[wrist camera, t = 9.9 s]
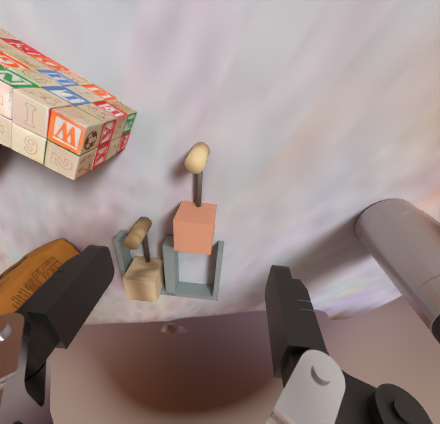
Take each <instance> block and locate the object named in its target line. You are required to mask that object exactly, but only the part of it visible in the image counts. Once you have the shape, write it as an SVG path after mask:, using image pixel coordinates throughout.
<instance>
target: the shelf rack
mask: <svg viewBox="0 0 440 424" xmlns="http://www.w3.org/2000/svg"><path fill="white" fill-rule="evenodd" d="M126 237H127V234H126V231H123V230H121V231H120V232H119V233H118V234H117V236H116V237H115V238H114V240H113V242H114V246H115V250H116V254H117V259H118V263H119V267H120V271H121V275H122V279H123V277H124V275H125V273H126V272H127V270H128V268H129V266H130V265H131V263H132V260H131V254H130V249H129V248H128V247H126V246H125V244H124V240H125V238H126ZM223 247H224V241H219V243H218V252H217V261H216V271H215V281H214V286H213V285H205V284H196V283H187V282H179V273H178V251H174V236H169V235H167V236H166V239H165V241H164V243H163V245H162V248H163V260H164V272H165V281H164V284H163V287H162V290H161V292H160V294H163V295H172V296H181V297H189V298H198V299H207V300H216V301H217V298H218V290H219V282H220V273H221V265H222V257H223Z"/></svg>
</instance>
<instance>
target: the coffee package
mask: <svg viewBox="0 0 440 424" xmlns="http://www.w3.org/2000/svg"><path fill="white" fill-rule="evenodd" d="M77 254H78V255H80V253H79V252H78V251H77V250H76V249H75V248H74V247H73V245H71V244H70V243H68V242H67V241H65V240H64V239H58V240H55V241H52V242H50V243H48V244H45V245H43V246H41V247H39V248H38V249H36V250H34V251H32V252H30V253H28V254H26V255H25V256H24V257H23V258H22V259H21V260H20V261H18V262H17V263H16V264H14V265H13V266H11V267H10V268H9V269H7V270H6V271H5V272H3V273H2V274H1V275H0V316H1V315H4V314H7V313H14V312H15V311H16V310H18V309H19V308H20V307H21V306H22V305H23V304H24V303H25V302H26V301H27V300H28V299H29V298H30V297H31V296H32V295H33V294H34V293H35V292H36V291H37V290H38V289H39V288H40V287H41V286H42V285H43V284H44V283H45V282H46V281H47V280H49V278H50V277H51V276H52V275H53V274H54V273H55V272H56V271H57V270H58V269H59V268H60V267H61V266H62V265H63V264H64V263H65V262H66V261H67V260H69V259H71V258H72V257H74V256H75V255H77Z"/></svg>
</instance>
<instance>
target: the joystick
mask: <svg viewBox="0 0 440 424" xmlns="http://www.w3.org/2000/svg"><path fill="white" fill-rule="evenodd" d="M209 153H210V149H209V147H208V145H207V144H205V143H203V142H198V143H196V144H195V145H194V147H193V148H192V150H191V151H190V153H189V155H188V156H187V158H186V159H185V167H186V169H187V170H188V171H189V172H190V173H193V174H197V177H196V202H188V201H182V202H181V204H180V206H179V208H178V211H177V213H176V215H175V217H174V219H173V234H174V251H182V252H191V253H199V254H208V255H211V249H212V243H213V236H214V227H215V217H216V206H217V205H215V204H206V203H201V196H202V174H203V169H204V166H205V164H206V161H207V158H208V156H209Z"/></svg>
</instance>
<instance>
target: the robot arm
mask: <svg viewBox="0 0 440 424" xmlns="http://www.w3.org/2000/svg"><path fill="white" fill-rule="evenodd" d="M355 232H356V235H357V237H358V238H359V239H360V241H361V242H362V243H363V244H364V246H365V247H366V248H367V250H368V251H369V252H370V254H371V255H372V256H373V258H374V259H375V260H376V262H377V263H378V264H379V265H380V267H381V268H382V269H383V271H384V272H385V273H386V275H387V276H388V277H389V278H390V280H391V281H392V282H393V284H394V285H395V286H396V287H397V289H398V290H399V291H400V293H401V294H402V295H403V296H404V298H405V299H406V300H407V302H408V303H409V304H410V306H411V307H412V308H413V310H414V311H415V312H416V313H417V315H418V316H419V317H420V319H421V320H422V321H423V322H424V324H425V325H426V326H427V328H428V329H429V330H430V332H431V333H432V334H433V335H434V337H435V338H436V340H437V341H438V342H439V343H440V223H439V222H438V221H436V220H435V219H434V218H432V217H431V216H429V215H428V214H426V213H425V212H424V211H422V210H420V209H418V208H417V207H415V206H414V205H412V204H411V203H410V202H408V201H405V200H402V199H388V200H384V201H381V202H378V203H376V204H374V205H372V206H370V207H369V208H368V209H366V210H365V211H364V212H363V213H362V214H361V215H360V216H359V218H358V219H357V222H356V224H355ZM113 276H114V266H113V262H112V258H111V255H110V251H109V248H108V247H105V246H96V245H90V246H88V247H87V248H86V249H85V250H84V251H83V252H82V253H81V254H80V255H78V254H77V255H75V256H74V257H72V258H71V259H69V260H67V261H66V262H65V263H64V264H63V265H62V266H61V267H60V268H59V269H58V270H57V271H56V272H55V273H54V274H53V275H52V276H51V277H50V278H49V280H47V281H46V282H45V283H44V284H43V285H42V286H41V287H40V288H39V289H38V290H37V291H36V292H35V293H34V294H33V295H32V296H31V297H30V298H29V299H28V300H27V301H26V302H25V303H24V304H23V305H22V306H21V307H20V308H19V309H18V310H16V311H15V312H14V313H7V314H4V315H1V316H0V424H53V419H52V417H51V413H50V383H51V381H50V380H51V356H50V354H51V353H52V351H53V350H54V348H55V347H56V348H64V349H67V348H68V346H69V345H70V343H71V342H72V340H73V339H74V337H75V336H76V334H77V332H78V331H79V329H80V328H81V326H82V325H83V323H84V322H85V320H86V319H87V317H88V316H89V314H90V313H91V311H92V310H93V308H94V307H95V305H96V304H97V302H98V301H99V299H100V298H101V296H102V295H103V293H104V292H105V290H106V289H107V287H108V286H109V284H110V283H111V281H112V279H113ZM265 301H266V310H267V318H268V327H269V336H270V345H271V354H272V363H273V372H274V377H278V378H282V381H283V387H284V390H283V392H282V394H281V396H280V398H279V399H278V401H277V403H276V405H275V408H274V409H273V411H272V413H271V415H270V416H269V418H268V420H267V422H266V424H432V422H431V420H430V418H429V416H428V415H427V413H426V411H425V410H424V409H423V407H422V406H421V405H420V404H419V402H418V401H417V400H416V399H415V398H414V397H412V396H411V395H410V394H409V393H408V392H406V391H405V390H403V389H402V388H400V387H398V386H396V385H393V384H382V385H380V386H379V387H378V388H375V387H373V386H371V385H369V384H367V383H365V382H363V381H360V380H358V379H356V378H354V377H352V376H350V375H348V374H347V373H345V372H344V371H342V370H341V369H340V367H339V366H338V364H337V363H336V362H335V361H334V360H333V359H332V358H331V357H330V356H329V354H328V352H327V349H326V347H325V344H324V341H323V337H322V334H321V331H320V328H319V325H318V322H317V319H316V316H315V313H314V312H313V310H314V309H313V306H312V303H311V302H310V301H311V300H310V297H309V294H308V291H307V289H306V287H305V286H304V285H303V284H302V282H301V281H300V280H298V279H292V277H291V273H290V269H289V267H285V266H275V265H272V266H271V269H270V273H269V277H268V281H267V284H266V290H265Z"/></svg>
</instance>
